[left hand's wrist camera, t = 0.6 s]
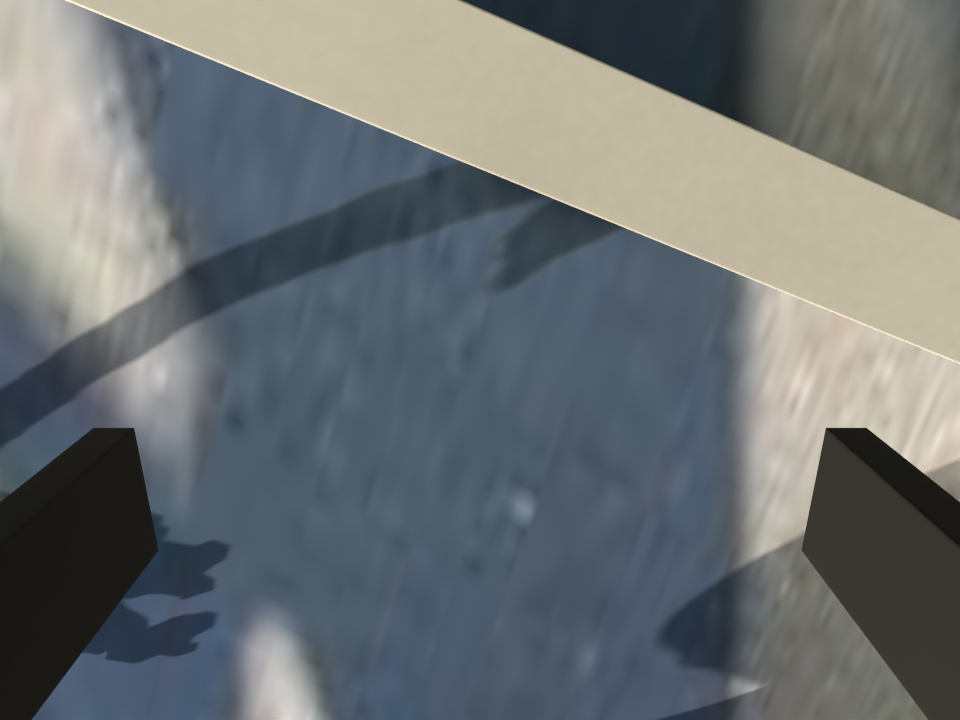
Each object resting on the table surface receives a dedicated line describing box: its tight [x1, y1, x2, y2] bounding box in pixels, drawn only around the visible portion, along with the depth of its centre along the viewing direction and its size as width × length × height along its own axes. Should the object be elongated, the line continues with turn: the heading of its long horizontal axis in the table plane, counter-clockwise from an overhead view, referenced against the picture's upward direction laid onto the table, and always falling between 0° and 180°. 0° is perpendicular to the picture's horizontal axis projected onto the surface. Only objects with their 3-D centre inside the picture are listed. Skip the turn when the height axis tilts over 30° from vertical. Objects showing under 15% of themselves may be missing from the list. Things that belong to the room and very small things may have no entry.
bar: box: [66, 0, 960, 364], centre depth 31 cm, size 64×6×8 cm, turn 69°
